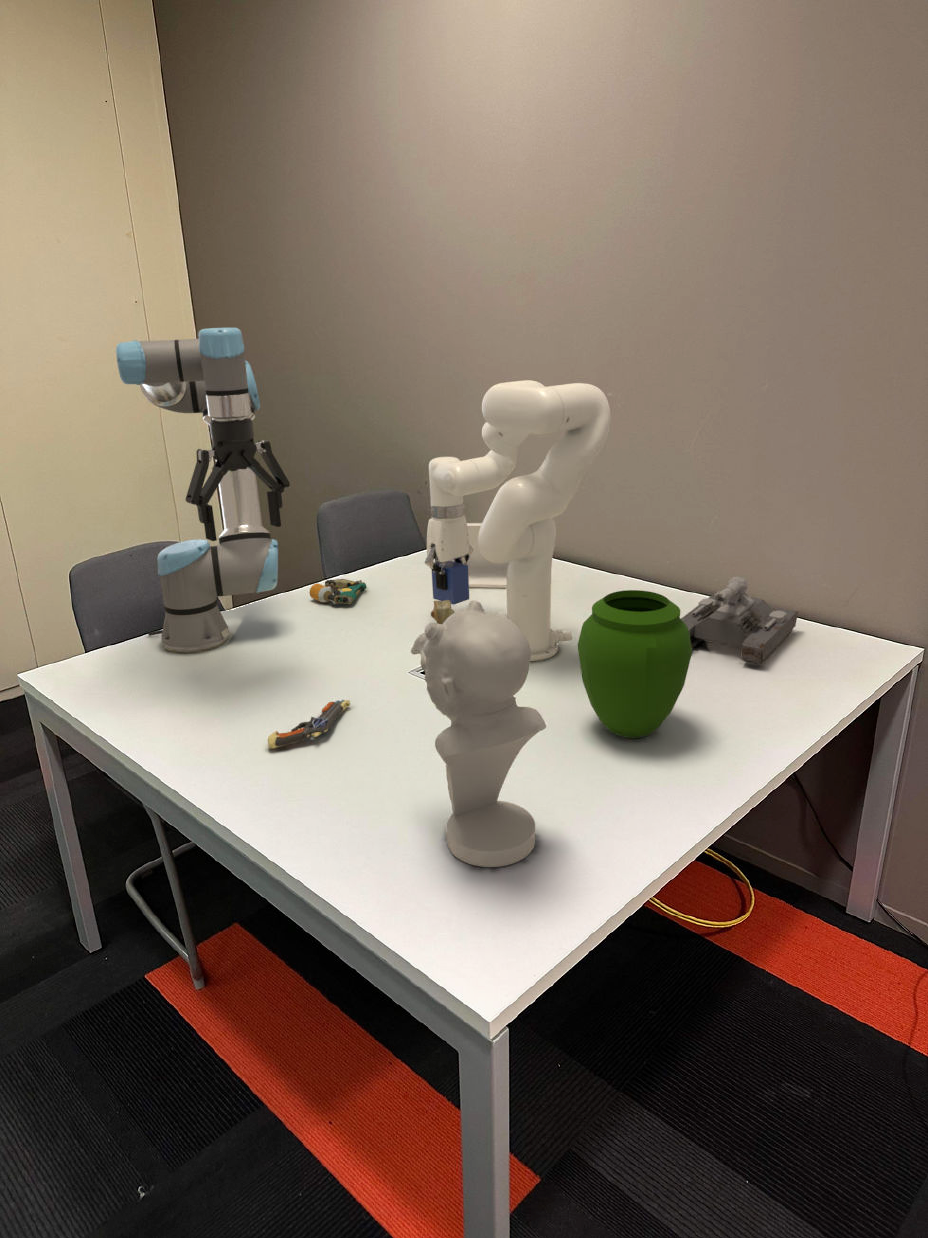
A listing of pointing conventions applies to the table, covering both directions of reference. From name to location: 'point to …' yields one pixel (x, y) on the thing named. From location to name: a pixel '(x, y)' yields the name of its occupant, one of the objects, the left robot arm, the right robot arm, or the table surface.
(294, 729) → the toy gun
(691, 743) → the table surface
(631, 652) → the vase
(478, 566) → the tablet stand
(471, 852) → the bust sculpture
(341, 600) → the spray gun
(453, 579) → the block
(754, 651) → the toy
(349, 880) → the table surface
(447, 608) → the sculpture
